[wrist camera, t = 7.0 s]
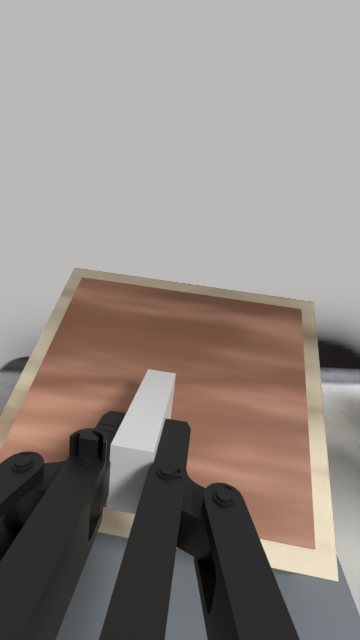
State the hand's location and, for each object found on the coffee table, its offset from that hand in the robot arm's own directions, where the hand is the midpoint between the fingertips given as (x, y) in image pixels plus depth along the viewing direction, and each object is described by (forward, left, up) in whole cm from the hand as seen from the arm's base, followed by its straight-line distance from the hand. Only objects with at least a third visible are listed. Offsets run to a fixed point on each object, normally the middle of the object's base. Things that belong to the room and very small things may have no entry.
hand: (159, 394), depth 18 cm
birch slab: (+1, +2, -8) cm, 8 cm away
